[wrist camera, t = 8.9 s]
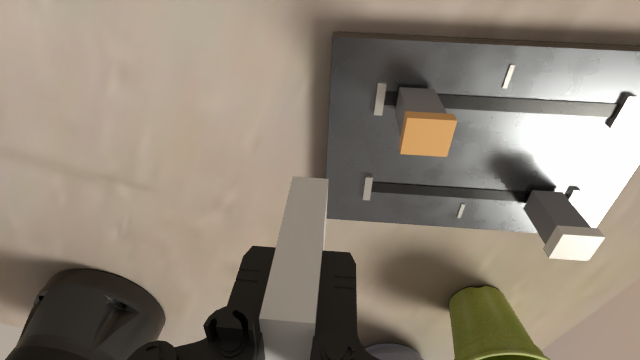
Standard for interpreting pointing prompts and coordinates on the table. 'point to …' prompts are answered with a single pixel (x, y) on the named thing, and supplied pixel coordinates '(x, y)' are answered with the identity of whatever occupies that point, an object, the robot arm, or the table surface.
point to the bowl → (393, 352)
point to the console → (481, 128)
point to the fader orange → (423, 123)
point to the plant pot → (488, 327)
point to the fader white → (561, 226)
